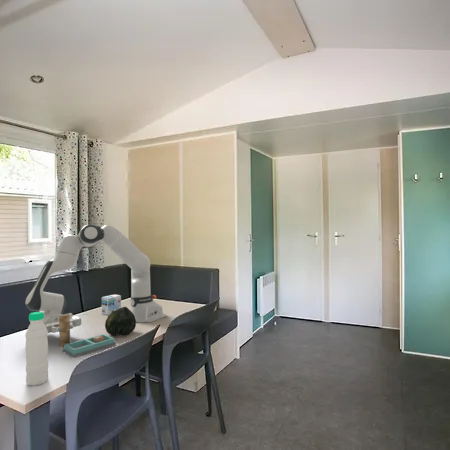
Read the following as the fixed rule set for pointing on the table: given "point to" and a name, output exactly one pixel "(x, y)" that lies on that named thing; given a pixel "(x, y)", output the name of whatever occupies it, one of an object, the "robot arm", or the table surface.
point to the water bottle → (36, 350)
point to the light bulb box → (111, 304)
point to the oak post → (64, 329)
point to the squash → (120, 322)
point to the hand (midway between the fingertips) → (65, 328)
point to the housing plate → (88, 345)
